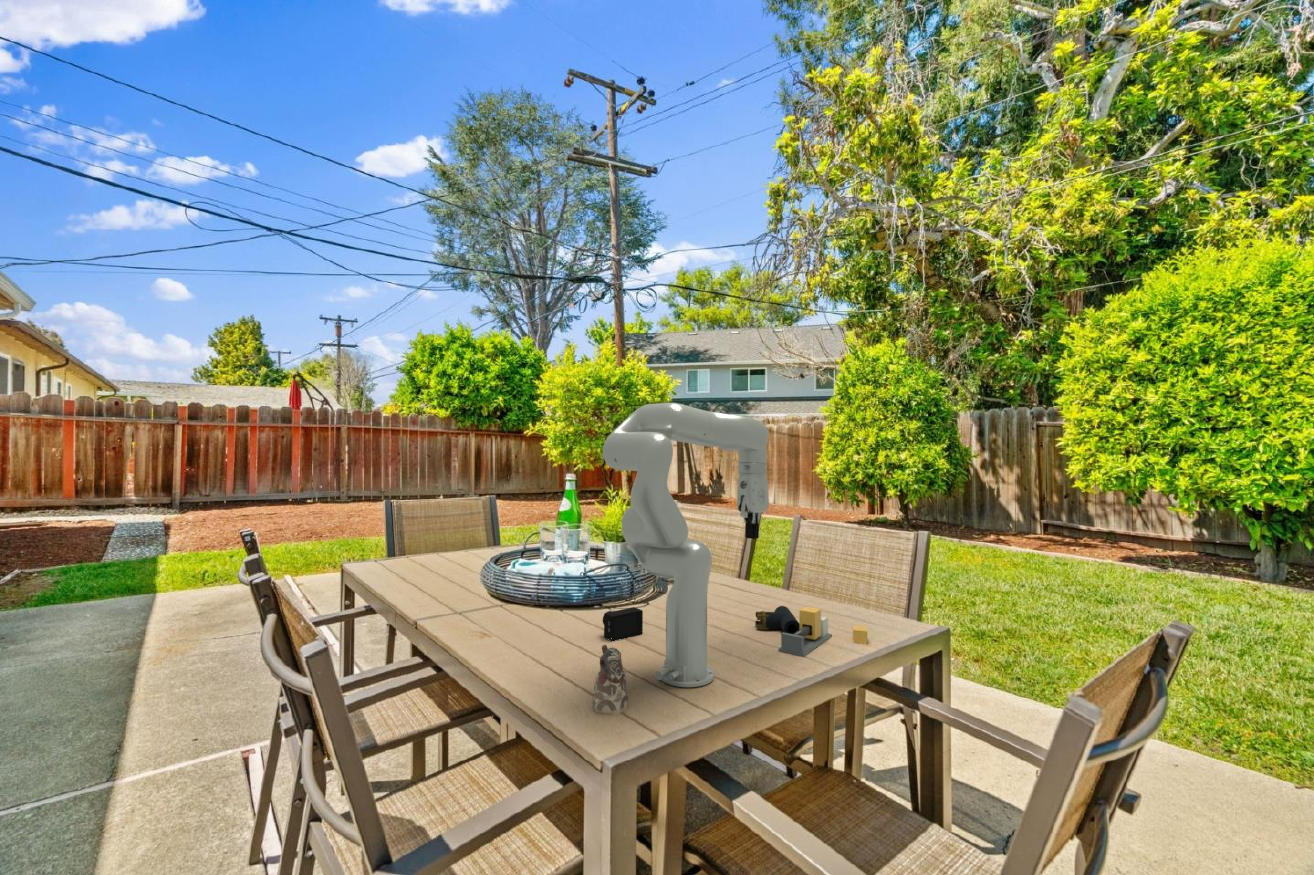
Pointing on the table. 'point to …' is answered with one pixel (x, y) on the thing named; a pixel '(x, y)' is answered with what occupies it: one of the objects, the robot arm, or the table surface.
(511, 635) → the table surface
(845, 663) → the table surface
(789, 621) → the pipe connector
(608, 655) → the figurine
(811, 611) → the yellow sliding block
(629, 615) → the digital camera
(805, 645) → the grey slider rail base
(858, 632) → the mustard yellow cube
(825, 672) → the table surface
